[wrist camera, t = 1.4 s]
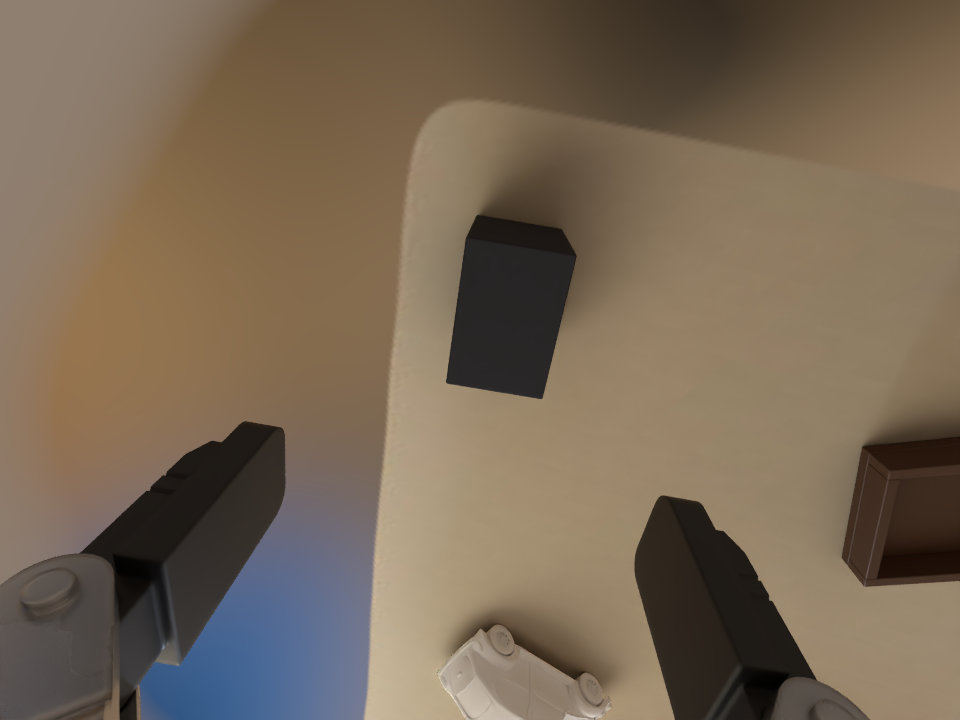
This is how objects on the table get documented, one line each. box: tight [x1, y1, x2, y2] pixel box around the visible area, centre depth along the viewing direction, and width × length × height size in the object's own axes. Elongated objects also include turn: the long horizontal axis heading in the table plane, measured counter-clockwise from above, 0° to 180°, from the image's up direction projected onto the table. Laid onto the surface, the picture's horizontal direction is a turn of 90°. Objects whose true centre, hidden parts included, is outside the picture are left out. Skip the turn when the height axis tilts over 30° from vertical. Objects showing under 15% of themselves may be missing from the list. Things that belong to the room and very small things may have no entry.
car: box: [437, 625, 612, 720], centre depth 33 cm, size 12×6×5 cm, turn 57°
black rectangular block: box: [446, 215, 577, 399], centre depth 21 cm, size 4×6×6 cm, turn 171°
